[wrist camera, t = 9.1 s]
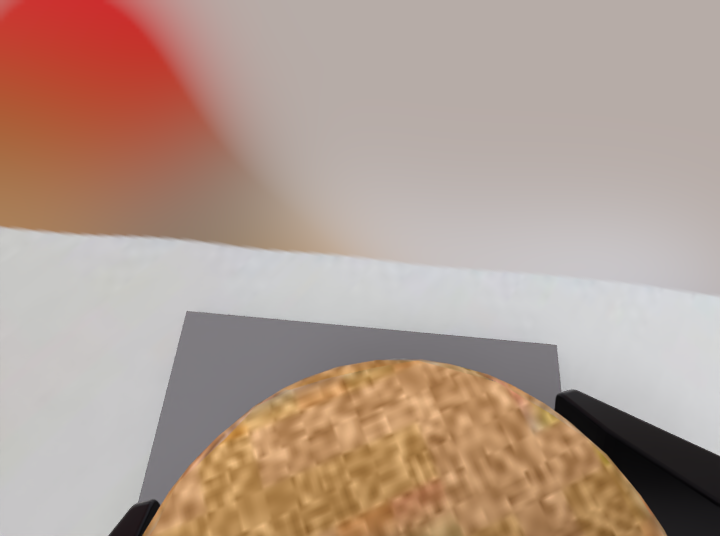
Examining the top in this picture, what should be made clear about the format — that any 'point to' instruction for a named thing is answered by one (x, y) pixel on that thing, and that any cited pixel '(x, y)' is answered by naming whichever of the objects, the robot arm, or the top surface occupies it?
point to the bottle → (402, 463)
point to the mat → (301, 374)
